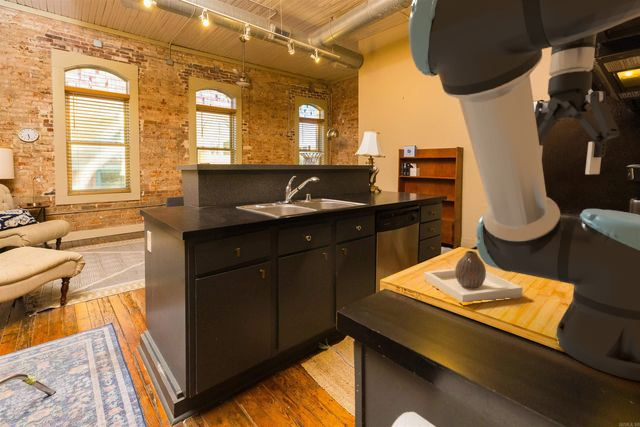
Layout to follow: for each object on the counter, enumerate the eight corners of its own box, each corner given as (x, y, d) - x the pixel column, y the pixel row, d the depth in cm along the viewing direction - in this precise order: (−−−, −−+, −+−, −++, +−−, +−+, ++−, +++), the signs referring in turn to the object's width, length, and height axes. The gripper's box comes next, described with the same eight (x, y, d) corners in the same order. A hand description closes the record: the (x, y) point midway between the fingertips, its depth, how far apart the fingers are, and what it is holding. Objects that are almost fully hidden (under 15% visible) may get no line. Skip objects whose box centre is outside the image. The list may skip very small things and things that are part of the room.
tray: (521, 297, 75) (522, 287, 75) (462, 305, 72) (462, 295, 72) (474, 274, 91) (475, 266, 90) (423, 280, 87) (424, 271, 87)
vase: (450, 286, 81) (451, 252, 80) (460, 278, 86) (462, 247, 85) (479, 293, 76) (481, 257, 75) (488, 285, 81) (490, 251, 80)
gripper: (653, 56, 58) (638, 174, 62) (534, 88, 82) (527, 171, 86) (622, 54, 57) (608, 175, 60) (509, 87, 81) (503, 172, 84)
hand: (560, 173), depth 73 cm, fingers open, 13 cm apart
